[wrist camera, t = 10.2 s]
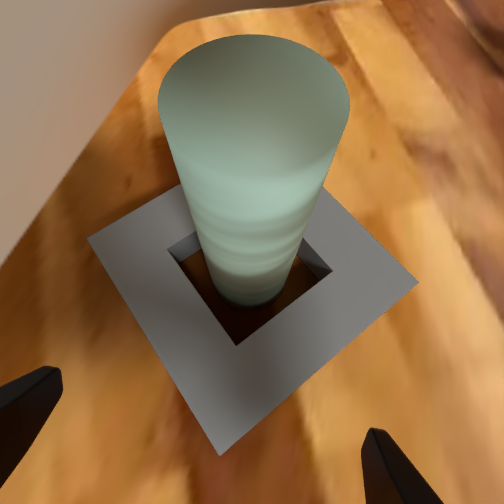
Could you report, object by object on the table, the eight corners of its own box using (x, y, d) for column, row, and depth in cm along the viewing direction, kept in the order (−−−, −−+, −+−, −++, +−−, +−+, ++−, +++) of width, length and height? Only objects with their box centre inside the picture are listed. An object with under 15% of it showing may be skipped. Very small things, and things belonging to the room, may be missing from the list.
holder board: (223, 445, 16) (219, 456, 13) (104, 255, 20) (85, 238, 17) (398, 294, 19) (418, 282, 17) (266, 157, 23) (268, 132, 21)
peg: (260, 326, 18) (288, 209, 6) (197, 285, 19) (116, 114, 7) (298, 265, 20) (380, 77, 8) (239, 230, 20) (229, 14, 9)
